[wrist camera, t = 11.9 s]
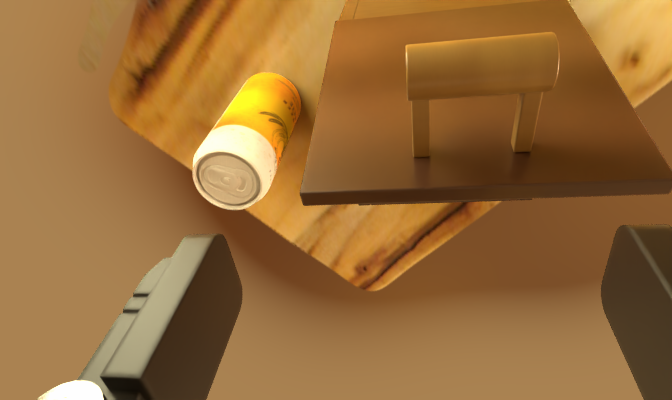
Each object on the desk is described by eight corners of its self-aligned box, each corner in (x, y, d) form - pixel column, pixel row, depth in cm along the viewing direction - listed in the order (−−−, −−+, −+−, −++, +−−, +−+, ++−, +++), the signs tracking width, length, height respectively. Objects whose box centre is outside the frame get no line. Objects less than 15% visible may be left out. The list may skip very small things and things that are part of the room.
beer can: (295, 133, 48) (259, 222, 36) (238, 115, 48) (184, 201, 36) (308, 80, 44) (274, 160, 32) (247, 61, 44) (190, 135, 32)
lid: (670, 194, 17) (744, 56, 13) (302, 206, 19) (270, 92, 15) (563, 10, 28) (585, -96, 24) (336, 32, 30) (323, -61, 26)
